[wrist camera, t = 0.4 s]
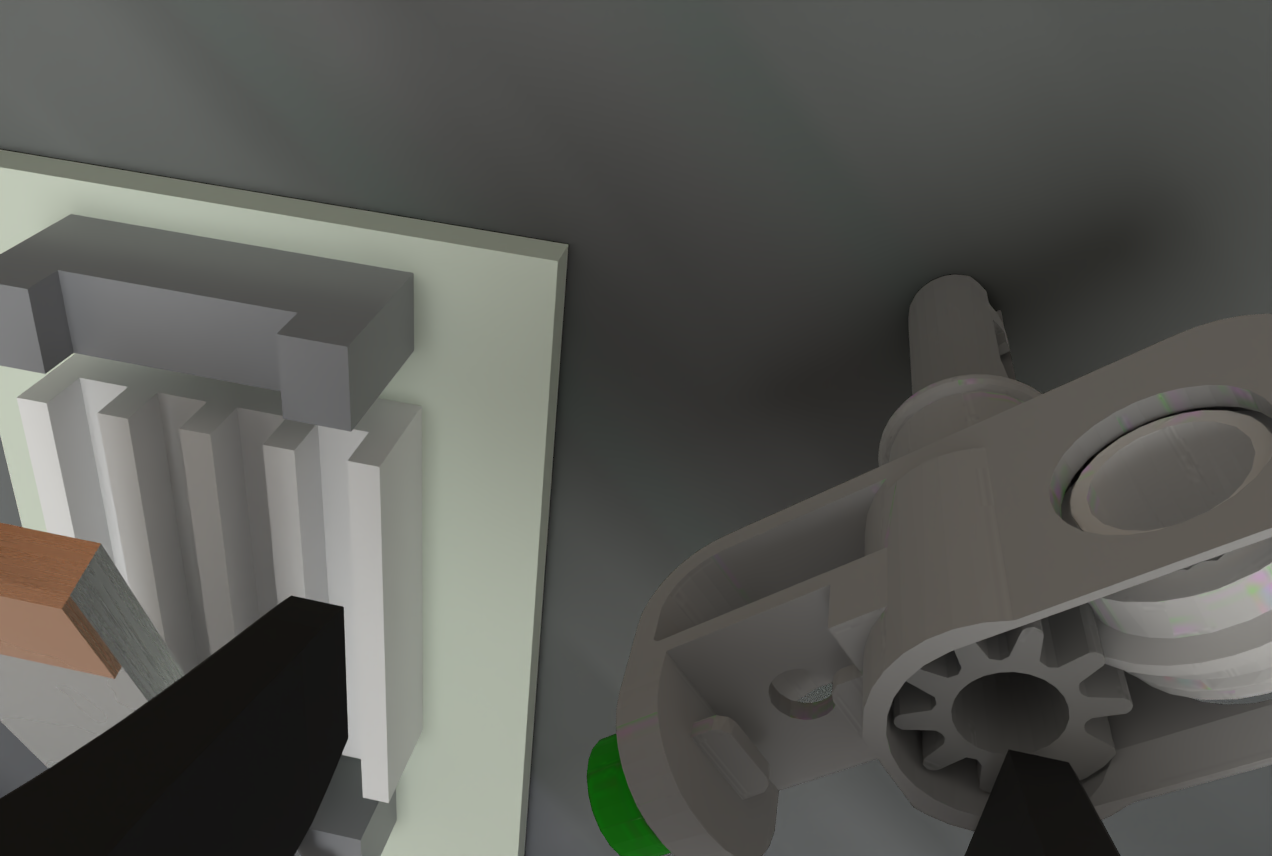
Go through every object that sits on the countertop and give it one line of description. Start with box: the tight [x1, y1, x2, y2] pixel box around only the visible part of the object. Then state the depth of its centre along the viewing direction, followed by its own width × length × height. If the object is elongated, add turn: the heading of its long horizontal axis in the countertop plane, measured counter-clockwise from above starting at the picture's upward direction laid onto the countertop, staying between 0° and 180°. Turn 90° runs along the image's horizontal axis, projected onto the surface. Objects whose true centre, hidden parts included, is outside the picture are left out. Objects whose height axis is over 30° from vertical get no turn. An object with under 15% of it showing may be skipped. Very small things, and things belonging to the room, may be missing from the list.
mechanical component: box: [587, 274, 1272, 856], centre depth 15 cm, size 3×10×10 cm, turn 125°
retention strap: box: [0, 523, 302, 856], centre depth 20 cm, size 14×4×1 cm, turn 174°
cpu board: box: [0, 150, 569, 856], centre depth 24 cm, size 18×12×4 cm, turn 174°
